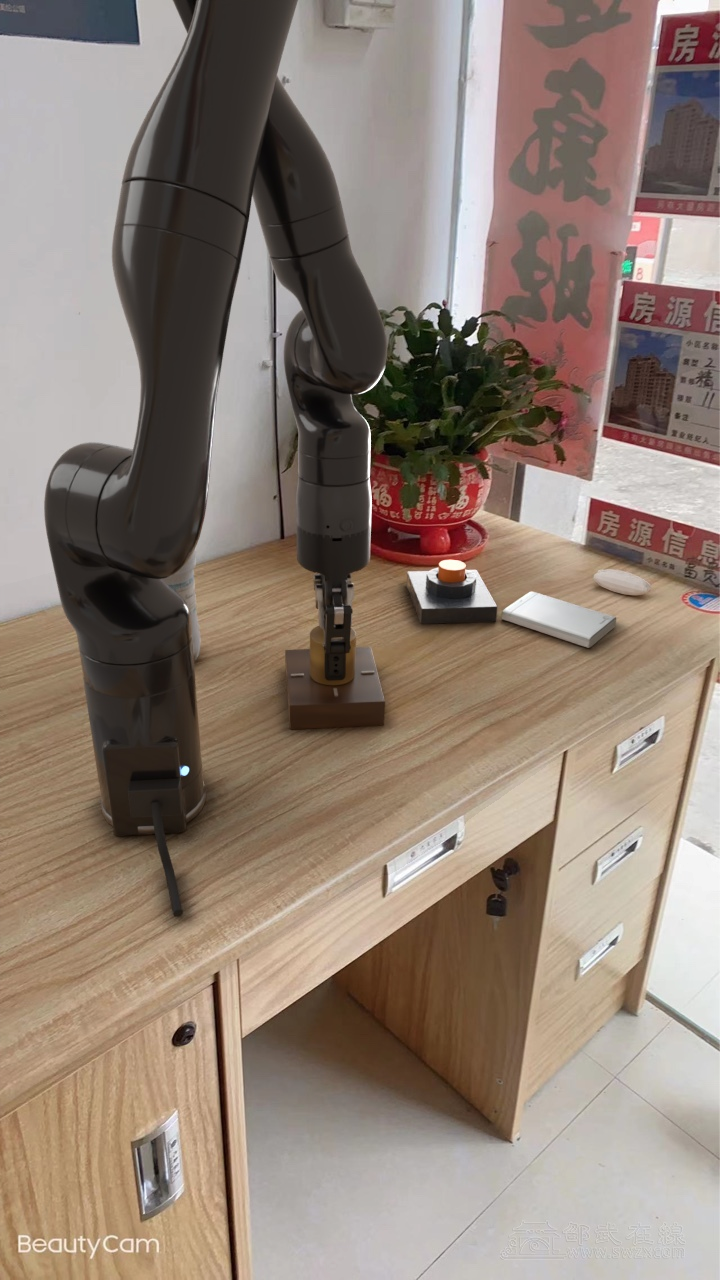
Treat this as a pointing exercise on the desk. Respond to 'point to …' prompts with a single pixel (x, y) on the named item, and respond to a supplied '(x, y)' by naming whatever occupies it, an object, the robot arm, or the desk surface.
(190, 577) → the bottle
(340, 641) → the robot arm
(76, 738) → the desk surface
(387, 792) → the desk surface
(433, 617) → the push button base
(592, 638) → the hard drive
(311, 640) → the dial
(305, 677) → the dial panel
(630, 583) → the white oval capsule
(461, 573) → the orange push button
